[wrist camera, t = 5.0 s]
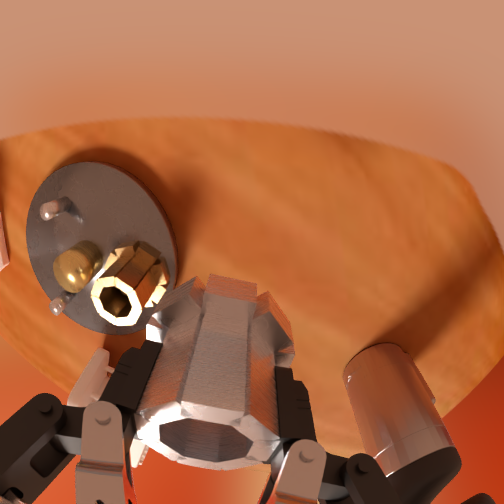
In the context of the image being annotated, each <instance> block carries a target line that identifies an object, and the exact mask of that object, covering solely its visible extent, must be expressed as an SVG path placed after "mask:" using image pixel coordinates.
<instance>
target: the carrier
mask: <svg viewBox="0 0 504 504" xmlns="http://www.w3.org/2000/svg"><path fill="white" fill-rule="evenodd" d="M26 240H27V248H28V253H29V258H30V261H31V264H32V267H33V270H34V272H35V275H36V277H37V279H38V281H39V283H40V285H41V286H42V288H43V290H44V291H45V293H46V294H47V296H48V297H49V298H50V299H51V301H52V302H51V303H50V304H49V308H50V310H51V312H52V313H53V314H55V315H59V314H60V313H61V312H63V313H64V314H65V315H67V316H68V317H69V318H71V319H72V320H73V321H75V322H76V323H78V324H80V325H82V326H84V327H86V328H88V329H90V330H93V331H96V332H100V333H104V334H110V335H124V334H130V333H134V332H137V331H140V330H142V329H144V328H146V327H147V323H148V322H149V320H150V318H151V316H152V314H153V313H154V311H155V309H156V307H157V305H158V304H159V302H160V301H161V299H162V297H163V296H164V295H166V294H167V293H169V292H171V291H172V290H174V288H175V285H176V280H177V275H178V249H177V244H176V239H175V235H174V232H173V229H172V226H171V223H170V221H169V219H168V217H167V215H166V212H165V211H164V209H163V207H162V206H161V204H160V203H159V201H158V200H157V198H156V197H155V196H154V194H153V193H152V192H151V191H150V190H149V189H148V188H147V187H146V186H145V185H144V184H143V183H142V182H141V181H140V180H139V179H138V178H136V177H135V176H134V175H132V174H131V173H129V172H128V171H126V170H124V169H122V168H120V167H118V166H115V165H113V164H110V163H105V162H100V161H87V162H80V163H74V164H70V165H67V166H65V167H62V168H60V169H59V170H57V171H55V172H54V173H52V174H51V175H50V176H49V177H47V179H46V180H45V181H44V182H43V183H42V184H41V186H40V187H39V189H38V190H37V192H36V193H35V196H34V198H33V200H32V202H31V205H30V208H29V212H28V217H27V226H26ZM136 240H139V242H140V245H141V244H142V243H143V242H144V241H145V242H147V243H148V244H150V245H151V246H153V247H154V248H156V249H157V250H159V251H160V252H162V253H161V254H160V256H159V258H158V259H160V258H166V261H167V265H168V268H169V271H170V274H171V277H170V279H169V281H170V283H169V285H168V287H167V289H166V291H165V292H164V294H163V295H162V297H161V299H160V300H159V302H158V304H157V303H155V304H154V306H151V307H144V309H143V311H142V312H141V314H140V316H139V318H138V319H137V321H136V323H135V324H134V325H122V326H117V324H116V325H114V324H113V323H111V322H110V321H108V320H107V319H105V318H104V317H102V316H101V315H100V313H98V311H97V309H96V307H95V305H94V302H93V300H92V298H91V292H92V289H93V286H94V284H95V281H96V279H97V278H98V277H99V276H100V275H101V274H102V273H103V272H104V271H105V270H106V269H105V268H104V267H105V265H106V262H107V260H108V258H109V255H110V253H111V252H112V251H113V250H114V249H115V248H117V247H118V246H119V245H120V244H121V243H126V242H131V241H136ZM119 290H120V289H119ZM120 292H121V293H122V294H124V295H126V296H128V295H127V294H126V293H125V292H123V291H122V290H120Z"/></svg>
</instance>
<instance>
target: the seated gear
mask: <svg viewBox="0 0 504 504" xmlns="http://www.w3.org/2000/svg"><path fill="white" fill-rule="evenodd" d="M161 253H162V252H160V251H159V250H157V249H156V248H154V247H153V246H151V245H150V244H148V243H147V242H145V241H144V242H143V243H142V244H141V245H140V242H139V240H136V241H131V242H126V243H121V244H120V245H119V246H118V247H117V248H115V249H114V250H113V251H112V252H111V253H110V255H109V258H108V260H107V262H106V265H105V267H104V268H105V269H106V270H105V271H104V272H103V273H102V274H101V275H100V276H99V277H98V278H97V279H96V281H95V284H94V286H93V289H92V292H91V298H92V300H93V302H94V305H95V307H96V309H97V311H98V313H100V315H101V316H102V317H104V318H105V319H107V320H108V321H110V322H111V323H113V324H114V325H116V324H117V326H122V325H134V324H135V323H136V321H137V319H138V318H139V316H140V314H141V312H142V311H143V309H144V307H151V306H154V304H155V303H157V304H158V302H159V300H160V299H161V297H162V295H163V294H164V292H165V291H166V289H167V287H168V285H169V283H170V281H169V279H170V277H171V274H170V271H169V268H168V265H167V261H166V258H160V259H158V258H159V256H160V254H161ZM119 289H120V290H122V291H123V292H125V293H126V294H127V295H128V296H126V295H124V294H122V293H121V292H120V290H119Z"/></svg>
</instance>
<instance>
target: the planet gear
mask: <svg viewBox="0 0 504 504" xmlns="http://www.w3.org/2000/svg"><path fill="white" fill-rule="evenodd" d="M147 339H149V340H153V341H157V342H160V343H163V344H162V347H161V349H160V352H159V354H158V356H157V359H156V361H155V364H154V366H153V369H152V371H151V374H150V376H149V379H148V381H147V384H146V386H145V389H144V391H143V394H142V397H141V399H140V402H139V404H138V407H137V410H136V414H135V413H134V417H135V423H136V428H137V434H138V438H141V441H142V442H144V443H145V444H147V445H148V446H150V447H151V448H153V449H154V450H156V451H157V452H159V453H161V454H162V455H164V456H166V457H167V458H169V459H170V460H172V461H177V463H182V464H187V465H191V466H196V467H202V468H207V469H214V470H221V469H223V470H231V469H237V468H242V467H247V466H252V465H257V464H261V463H263V461H267V460H268V459H269V457H270V456H271V454H272V453H273V451H274V450H275V449H276V447H277V446H278V444H279V443H280V441H279V439H280V430H279V416H278V403H277V389H276V377H275V366H280V367H287V368H289V367H290V365H291V363H292V360H293V358H294V356H295V351H294V345H293V344H294V341H293V336H292V330H291V325H290V322H289V320H288V319H287V317H286V316H285V314H284V313H283V312H282V310H281V309H280V307H279V306H278V304H277V303H276V302H275V300H274V299H273V297H272V296H271V294H270V293H269V291H267V292H265V293H263V294H261V295H259V296H257V284H256V283H251V282H247V281H242V280H237V279H232V278H227V277H223V276H218V275H213V274H210V276H209V280H208V283H207V286H206V287H205V286H204V284H203V283H202V282H201V281H200V279H199V278H198V277H197V276H196V277H194V278H192V279H191V280H189V281H187V282H186V283H184V284H182V285H181V286H179V287H177V288H176V289H174V290H172V291H171V292H169V293H167V294H166V295H164V296H163V297H162V299H161V301H160V302H159V304H158V305H157V307H156V309H155V311H154V313H153V314H152V316H151V318H150V320H149V322H148V323H147Z"/></svg>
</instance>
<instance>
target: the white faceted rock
mask: <svg viewBox="0 0 504 504" xmlns="http://www.w3.org/2000/svg"><path fill="white" fill-rule="evenodd" d="M8 264H9V259H8V254H7V249H6V243H5V238H4V231H3V225H2V217H1V211H0V271H1V270H2V269H3V268H4V267H5V266H6V265H8Z"/></svg>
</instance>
